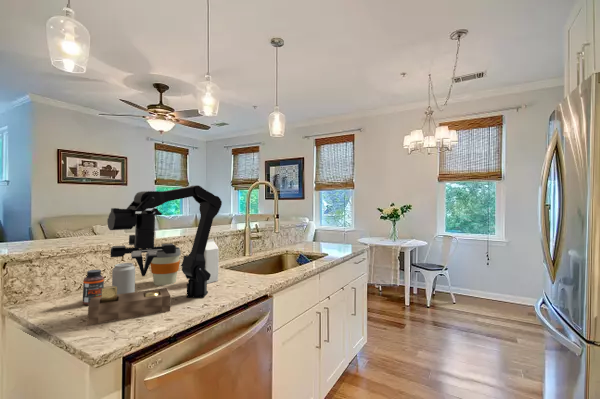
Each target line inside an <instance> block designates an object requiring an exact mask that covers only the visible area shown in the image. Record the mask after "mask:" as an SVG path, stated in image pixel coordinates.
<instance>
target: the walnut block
mask: <svg viewBox="0 0 600 399" xmlns="http://www.w3.org/2000/svg"><path fill="white" fill-rule="evenodd" d="M148 292H159V295H156V296H149V297H145V294H146V293H148ZM170 311H171V294H170V292H169V290H168V289H167V287H162V288H157V289H148V290H147V289H146V290H140V291H135V292H132V293H124V294H117V301H114V302H107V303H102V297H94V298H91V300H90V303H89V305H87V326H91V325H97V324H103V323H107V322H113V321H119V320H125V319H126V320H127V319H131V318H136V317H141V316H147V315H149V316H150V315H152V314H153V315H154V314H158V313H166V312H170Z"/></svg>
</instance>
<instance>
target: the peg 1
mask: <svg viewBox="0 0 600 399" xmlns="http://www.w3.org/2000/svg"><path fill="white" fill-rule="evenodd" d="M114 301H117V286H112V285H108V286H104V288H102V303H107V302H114Z"/></svg>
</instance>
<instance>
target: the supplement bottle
mask: <svg viewBox="0 0 600 399" xmlns="http://www.w3.org/2000/svg"><path fill="white" fill-rule="evenodd" d="M86 272H87V274H86V277H84V279H83V283H82V289H83V290H82V305H85V306H89V303H90V300H91V298H94V297H102V288H104V287H105V278H104V276H103V275H102V270H101V269H91V270H88V271H86Z"/></svg>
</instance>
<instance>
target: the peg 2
mask: <svg viewBox="0 0 600 399" xmlns="http://www.w3.org/2000/svg"><path fill="white" fill-rule="evenodd" d="M156 295H159V292H148V293H146V294H145V297H149V296H156Z"/></svg>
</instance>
